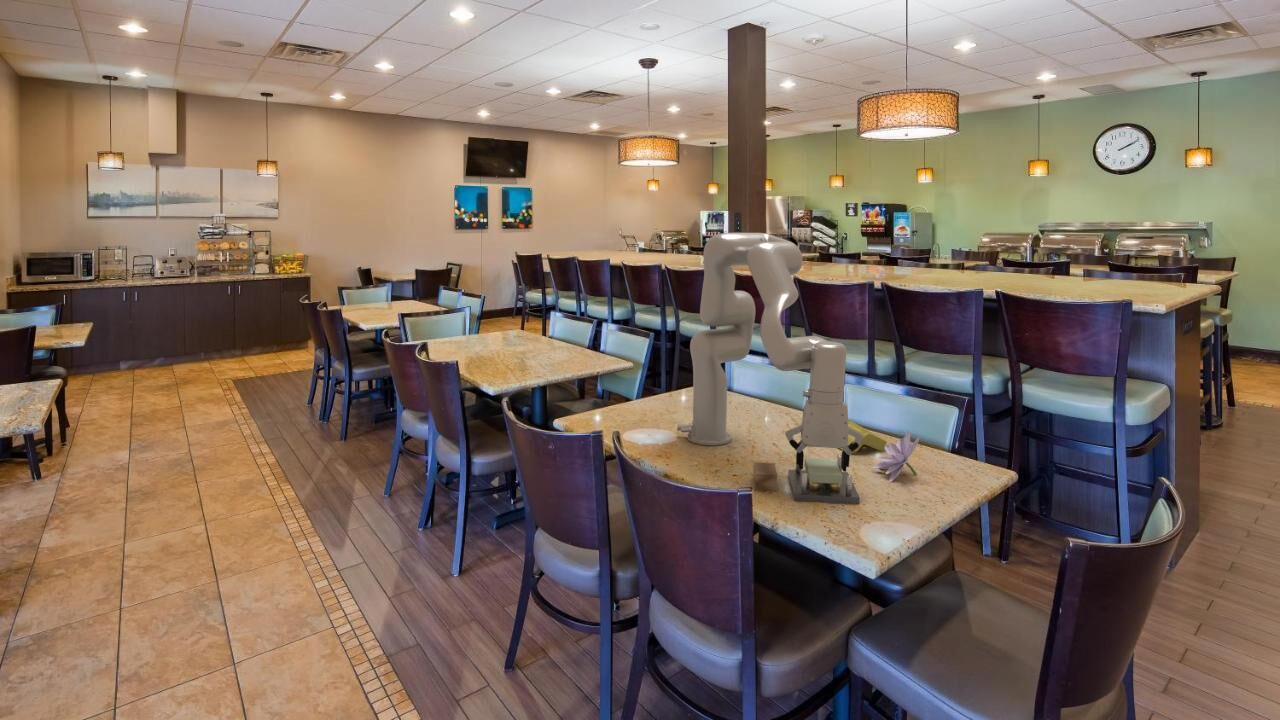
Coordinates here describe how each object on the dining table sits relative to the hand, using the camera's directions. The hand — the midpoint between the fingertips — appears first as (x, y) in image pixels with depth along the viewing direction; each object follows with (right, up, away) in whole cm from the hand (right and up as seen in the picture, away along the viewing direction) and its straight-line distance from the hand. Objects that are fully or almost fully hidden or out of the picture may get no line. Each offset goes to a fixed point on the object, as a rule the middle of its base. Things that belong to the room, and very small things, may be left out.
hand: (822, 468), depth 158 cm
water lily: (+21, -3, +11) cm, 23 cm away
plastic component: (+18, +1, +35) cm, 39 cm away
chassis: (0, -5, +1) cm, 5 cm away
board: (0, -1, 0) cm, 1 cm away
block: (-13, -4, +3) cm, 14 cm away
